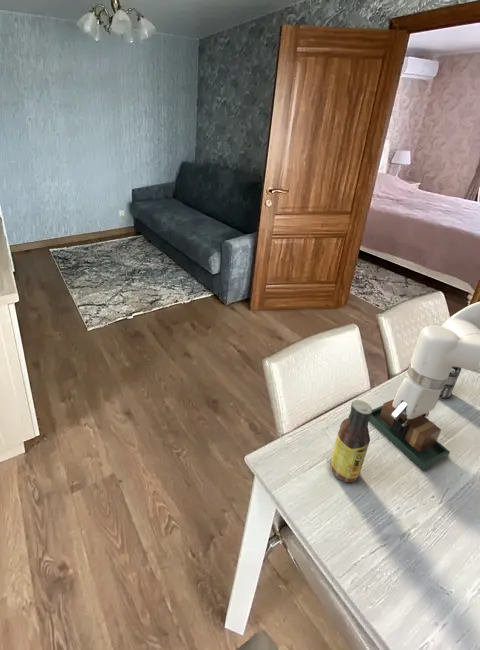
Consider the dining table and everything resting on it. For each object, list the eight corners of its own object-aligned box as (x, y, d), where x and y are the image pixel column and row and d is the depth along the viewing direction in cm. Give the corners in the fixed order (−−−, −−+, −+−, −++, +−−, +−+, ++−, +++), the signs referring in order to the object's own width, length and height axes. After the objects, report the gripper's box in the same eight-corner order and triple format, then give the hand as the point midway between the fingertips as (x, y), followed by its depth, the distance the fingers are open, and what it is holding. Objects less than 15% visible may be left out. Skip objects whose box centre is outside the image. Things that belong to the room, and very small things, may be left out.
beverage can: (424, 379, 109) (435, 349, 104) (449, 389, 105) (462, 357, 101) (423, 392, 104) (435, 361, 99) (450, 403, 100) (463, 370, 96)
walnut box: (379, 417, 93) (383, 403, 91) (394, 410, 95) (399, 396, 93) (419, 452, 84) (424, 437, 82) (435, 444, 86) (441, 429, 84)
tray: (447, 457, 85) (450, 451, 84) (422, 470, 82) (425, 465, 81) (388, 407, 99) (390, 402, 98) (364, 417, 95) (366, 412, 95)
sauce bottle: (353, 490, 77) (373, 426, 70) (325, 471, 81) (341, 409, 74) (362, 469, 82) (382, 407, 74) (335, 452, 86) (351, 391, 78)
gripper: (434, 356, 89) (415, 407, 95) (386, 373, 82) (370, 428, 89) (466, 375, 82) (443, 430, 89) (417, 396, 76) (396, 453, 83)
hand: (406, 428), depth 89 cm, fingers closed on walnut box, 6 cm apart
